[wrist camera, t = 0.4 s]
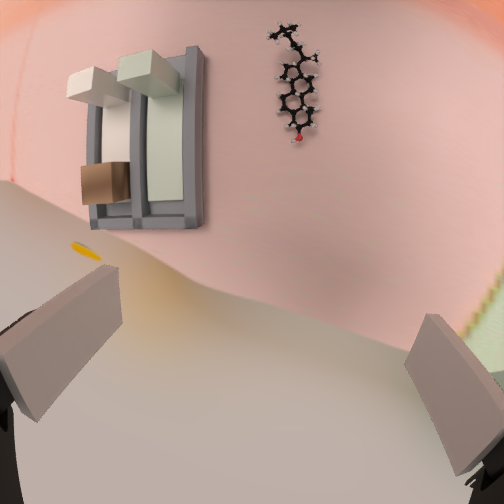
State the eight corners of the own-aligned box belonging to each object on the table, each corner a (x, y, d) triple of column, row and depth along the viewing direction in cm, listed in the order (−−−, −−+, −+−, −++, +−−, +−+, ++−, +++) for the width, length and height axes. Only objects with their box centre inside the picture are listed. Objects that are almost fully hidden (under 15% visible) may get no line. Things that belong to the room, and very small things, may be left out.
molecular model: (280, 144, 34) (282, 136, 26) (265, 44, 30) (263, 15, 22) (328, 141, 33) (344, 132, 25) (311, 41, 29) (319, 12, 21)
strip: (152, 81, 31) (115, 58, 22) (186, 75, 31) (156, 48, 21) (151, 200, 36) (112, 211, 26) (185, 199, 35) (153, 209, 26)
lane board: (104, 76, 32) (91, 71, 29) (204, 55, 31) (197, 45, 27) (103, 224, 39) (90, 229, 36) (203, 223, 37) (196, 228, 34)
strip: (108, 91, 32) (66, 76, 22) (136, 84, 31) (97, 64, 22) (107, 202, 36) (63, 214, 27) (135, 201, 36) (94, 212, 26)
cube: (101, 165, 34) (80, 166, 29) (130, 161, 34) (111, 161, 29) (103, 200, 35) (82, 205, 31) (132, 198, 35) (112, 202, 30)
